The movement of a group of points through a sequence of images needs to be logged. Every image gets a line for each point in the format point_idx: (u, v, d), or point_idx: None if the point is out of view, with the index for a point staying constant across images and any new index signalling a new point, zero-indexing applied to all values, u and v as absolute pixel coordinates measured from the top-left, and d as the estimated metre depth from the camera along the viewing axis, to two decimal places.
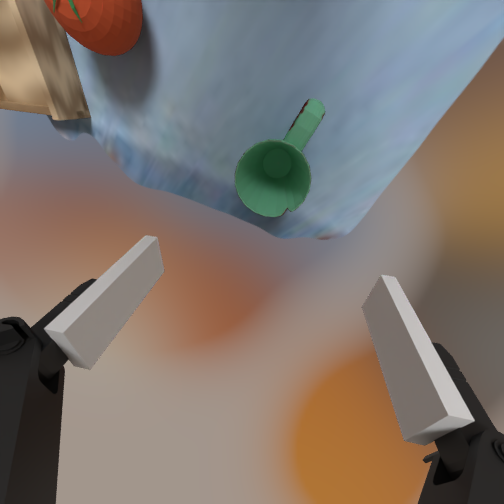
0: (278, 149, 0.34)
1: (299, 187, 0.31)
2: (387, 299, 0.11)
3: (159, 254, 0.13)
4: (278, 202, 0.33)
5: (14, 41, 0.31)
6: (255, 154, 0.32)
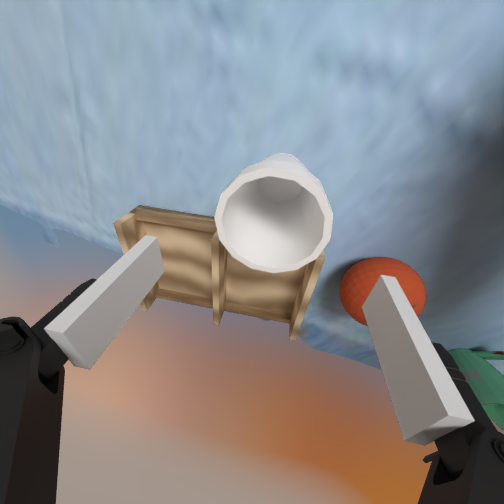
0: None
1: None
2: (387, 300, 0.11)
3: (159, 254, 0.13)
4: None
5: (260, 277, 0.37)
6: (461, 369, 0.37)
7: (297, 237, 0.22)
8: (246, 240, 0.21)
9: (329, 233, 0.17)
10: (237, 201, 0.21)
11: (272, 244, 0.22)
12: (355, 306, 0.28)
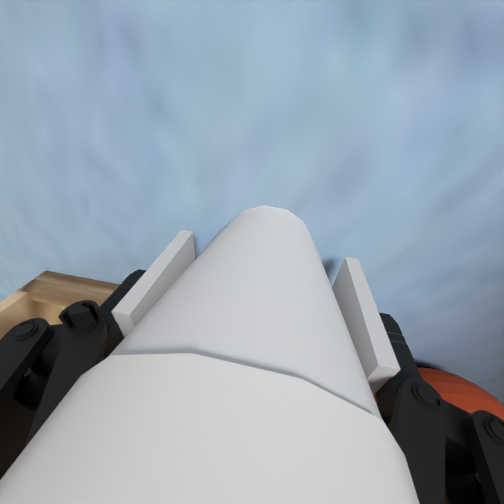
0: None
1: None
2: (347, 278, 0.12)
3: (193, 248, 0.14)
4: None
5: None
6: None
7: None
8: None
9: None
10: None
11: None
12: None
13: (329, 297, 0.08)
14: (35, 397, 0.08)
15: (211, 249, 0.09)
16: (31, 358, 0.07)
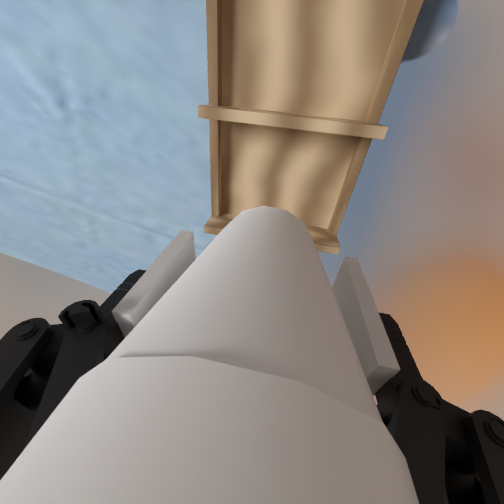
0: None
1: None
2: (347, 278, 0.12)
3: (193, 248, 0.14)
4: None
5: (307, 40, 0.21)
6: None
7: None
8: None
9: None
10: None
11: None
12: None
13: (329, 298, 0.08)
14: (35, 397, 0.08)
15: (211, 250, 0.09)
16: (31, 358, 0.07)
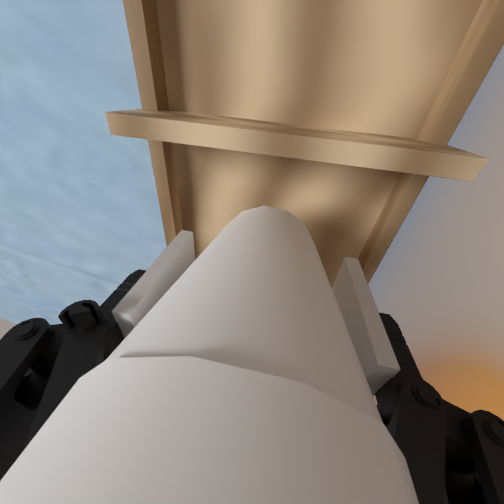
0: None
1: None
2: (347, 277, 0.12)
3: (193, 248, 0.14)
4: None
5: None
6: None
7: None
8: None
9: None
10: None
11: None
12: None
13: (329, 298, 0.08)
14: (35, 397, 0.08)
15: (211, 250, 0.09)
16: (31, 358, 0.07)
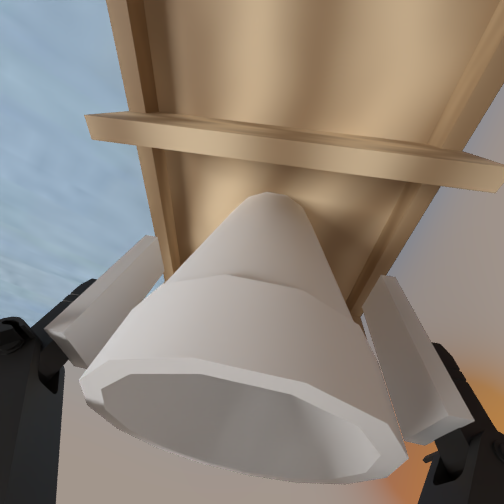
0: None
1: None
2: (387, 299, 0.11)
3: (159, 254, 0.13)
4: None
5: None
6: None
7: None
8: (195, 387, 0.11)
9: (387, 472, 0.06)
10: None
11: None
12: None
13: (323, 258, 0.10)
14: None
15: (225, 224, 0.11)
16: None
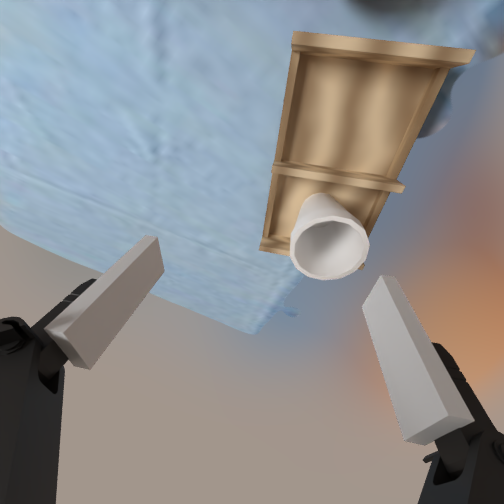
0: None
1: None
2: (387, 300, 0.11)
3: (159, 254, 0.13)
4: None
5: (349, 123, 0.30)
6: None
7: (337, 255, 0.31)
8: (303, 257, 0.31)
9: (366, 255, 0.26)
10: None
11: (319, 260, 0.32)
12: None
13: None
14: None
15: (313, 202, 0.32)
16: None
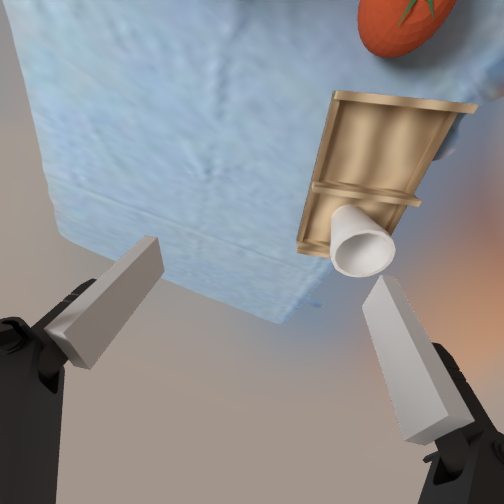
0: None
1: None
2: (387, 299, 0.11)
3: (159, 254, 0.13)
4: None
5: (375, 151, 0.37)
6: None
7: (366, 257, 0.39)
8: (339, 259, 0.39)
9: (392, 258, 0.34)
10: None
11: (351, 261, 0.40)
12: (403, 38, 0.25)
13: None
14: None
15: (346, 214, 0.39)
16: None
